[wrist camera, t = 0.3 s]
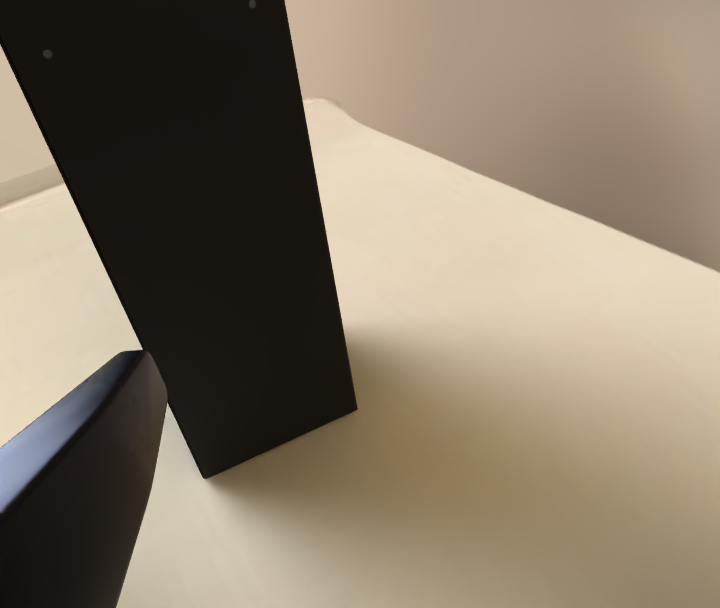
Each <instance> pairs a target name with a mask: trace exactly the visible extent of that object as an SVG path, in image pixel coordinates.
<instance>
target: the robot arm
mask: <svg viewBox="0 0 720 608" xmlns="http://www.w3.org/2000/svg"><path fill="white" fill-rule="evenodd" d="M167 399H168V396H167V389H166V386H165V383H164V381H163V379H162V377H161V375H160V372H159V370H158V368H157V366H156V364H155V361H154V359H153V357H152V356H151V354H150V353H149V352H148V351H145V350H136V351H124V352H120V353H119V354H117V355H116V356H115V357H113V358H112V359H111V360H110V361H108V362H107V363H106V364H105V365H103V366H102V367H101V368H100V369H98V370H97V371H96V372H95V373H93V374H92V375H91V376H90V377H88V378H87V379H86V380H85V381H83V382H82V383H81V384H80V385H78V386H77V387H76V388H75V389H73V390H72V391H71V392H70V393H68V394H67V395H66V396H65V397H63V398H62V399H61V400H60V401H58V402H57V403H56V404H55V405H53V406H52V407H51V408H50V409H48V410H47V411H46V412H45V413H43V414H42V415H41V416H40V417H38V418H37V419H36V420H35V421H33V422H32V423H31V424H30V425H28V426H27V427H26V428H25V429H23V430H22V431H21V432H19V433H18V434H17V435H16V436H14V437H13V438H12V439H11V440H9V441H8V442H7V443H6V444H4V445H3V446H2V447H1V448H0V608H116V606H117V603H118V599H119V596H120V593H121V589H122V586H123V583H124V579H125V576H126V573H127V569H128V566H129V563H130V559H131V556H132V553H133V549H134V546H135V543H136V539H137V536H138V533H139V530H140V526H141V523H142V520H143V516H144V513H145V510H146V506H147V503H148V499H149V495H150V492H151V488H152V483H153V478H154V473H155V468H156V462H157V457H158V451H159V445H160V440H161V434H162V429H163V423H164V418H165V412H166V407H167Z"/></svg>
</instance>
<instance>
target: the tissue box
mask: <svg viewBox="0 0 720 608" xmlns="http://www.w3.org/2000/svg"><path fill="white" fill-rule="evenodd" d="M0 45H1V47H2V49H3V51H4V53H5V55H6V57H7V60H8V62H9V64H10V66H11V68H12V70H13V72H14V75H15V77H16V79H17V81H18V83H19V85H20V87H21V90H22V91H23V94H24V96H25V98H26V100H27V102H28V104H29V107H30V109H31V111H32V113H33V115H34V117H35V120H36V122H37V124H38V126H39V128H40V130H41V132H42V135H43V137H44V139H45V141H46V143H47V145H48V147H49V149H50V152H51V154H52V156H53V158H54V160H55V162H56V164H57V167H58V169H59V171H60V173H61V175H62V177H63V179H64V182H65V184H66V186H67V188H68V190H69V192H70V194H71V197H72V199H73V201H74V203H75V205H76V207H77V209H78V212H79V214H80V216H81V218H82V220H83V222H84V224H85V227H86V229H87V231H88V233H89V235H90V237H91V239H92V242H93V244H94V246H95V248H96V250H97V252H98V254H99V256H100V259H101V261H102V263H103V265H104V267H105V269H106V271H107V274H108V276H109V278H110V280H111V282H112V284H113V286H114V289H115V291H116V293H117V295H118V297H119V299H120V301H121V304H122V306H123V308H124V310H125V312H126V314H127V316H128V319H129V321H130V323H131V325H132V327H133V329H134V331H135V334H136V336H137V338H138V340H139V342H140V344H141V346H142V348H143V350H145V351H148V352H149V353H150V354H151V356H152V357H153V359H154V361H155V364H156V366H157V368H158V370H159V372H160V375H161V377H162V379H163V381H164V383H165V386H166V389H167V396H168V399H167V402H168V404H169V406H170V408H171V411H172V413H173V415H174V417H175V419H176V421H177V423H178V425H179V428H180V430H181V432H182V434H183V436H184V438H185V440H186V443H187V445H188V447H189V449H190V451H191V453H192V455H193V458H194V460H195V462H196V464H197V466H198V468H199V470H200V473H201V475H202V477H203V478H205V479H207V478H209V477H212V476H214V475H216V474H218V473H220V472H223V471H225V470H227V469H229V468H231V467H233V466H236V465H238V464H240V463H242V462H244V461H246V460H249V459H251V458H253V457H255V456H257V455H260V454H262V453H264V452H266V451H268V450H270V449H273V448H275V447H277V446H279V445H281V444H283V443H286V442H288V441H290V440H292V439H294V438H296V437H299V436H301V435H303V434H305V433H307V432H310V431H312V430H314V429H316V428H318V427H320V426H323V425H325V424H327V423H329V422H331V421H333V420H336V419H338V418H340V417H342V416H344V415H346V414H349V413H351V412H353V411H355V410H357V403H356V397H355V392H354V386H353V380H352V375H351V369H350V364H349V358H348V353H347V347H346V341H345V336H344V330H343V325H342V319H341V313H340V308H339V302H338V297H337V291H336V285H335V280H334V274H333V269H332V263H331V258H330V252H329V246H328V241H327V235H326V230H325V224H324V218H323V213H322V207H321V202H320V196H319V191H318V185H317V179H316V174H315V168H314V163H313V157H312V151H311V146H310V140H309V135H308V129H307V124H306V118H305V112H304V107H303V101H302V96H301V90H300V85H299V79H298V73H297V68H296V62H295V57H294V51H293V45H292V40H291V35H290V29H289V23H288V17H287V12H286V6H285V1H284V0H0Z"/></svg>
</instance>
